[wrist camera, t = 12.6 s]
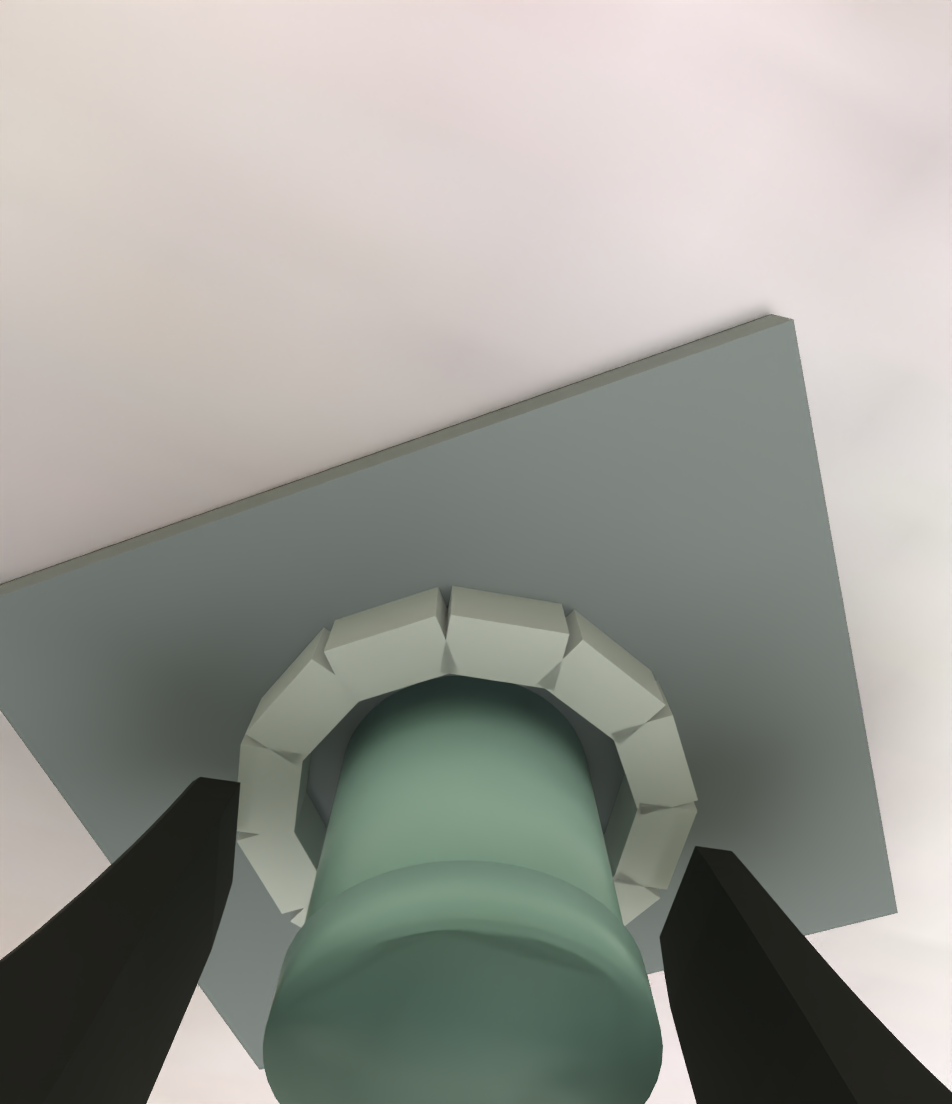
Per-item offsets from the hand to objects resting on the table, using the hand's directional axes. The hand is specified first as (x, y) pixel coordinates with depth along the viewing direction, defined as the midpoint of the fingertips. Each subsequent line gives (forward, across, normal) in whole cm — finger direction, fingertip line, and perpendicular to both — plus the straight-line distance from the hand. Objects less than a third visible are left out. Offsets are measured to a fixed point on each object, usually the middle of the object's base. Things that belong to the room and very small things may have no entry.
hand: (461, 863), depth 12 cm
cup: (+2, 0, 0) cm, 2 cm away
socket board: (+3, 0, 0) cm, 3 cm away
